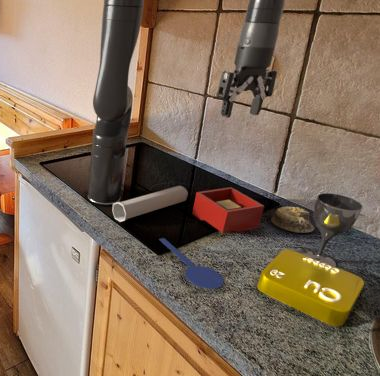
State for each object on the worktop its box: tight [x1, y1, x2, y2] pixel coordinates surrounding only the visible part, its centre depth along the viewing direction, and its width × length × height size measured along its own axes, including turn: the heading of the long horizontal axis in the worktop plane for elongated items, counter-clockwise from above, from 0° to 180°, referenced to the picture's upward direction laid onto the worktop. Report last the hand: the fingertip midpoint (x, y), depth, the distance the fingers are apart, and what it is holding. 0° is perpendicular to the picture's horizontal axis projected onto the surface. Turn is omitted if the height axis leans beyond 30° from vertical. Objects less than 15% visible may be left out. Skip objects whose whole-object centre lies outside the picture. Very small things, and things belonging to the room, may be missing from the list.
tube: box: [111, 185, 189, 223], centre depth 111 cm, size 5×5×25 cm
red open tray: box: [191, 186, 265, 234], centre depth 106 cm, size 12×12×7 cm
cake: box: [270, 206, 315, 234], centre depth 105 cm, size 10×10×5 cm
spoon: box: [158, 237, 224, 290], centre depth 89 cm, size 19×8×1 cm, turn 20°
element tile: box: [256, 248, 365, 327], centre depth 80 cm, size 15×15×5 cm
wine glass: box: [300, 192, 363, 267], centre depth 89 cm, size 8×8×15 cm
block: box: [216, 200, 241, 210], centre depth 106 cm, size 4×4×4 cm
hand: (239, 115), depth 97 cm, fingers open, 8 cm apart
